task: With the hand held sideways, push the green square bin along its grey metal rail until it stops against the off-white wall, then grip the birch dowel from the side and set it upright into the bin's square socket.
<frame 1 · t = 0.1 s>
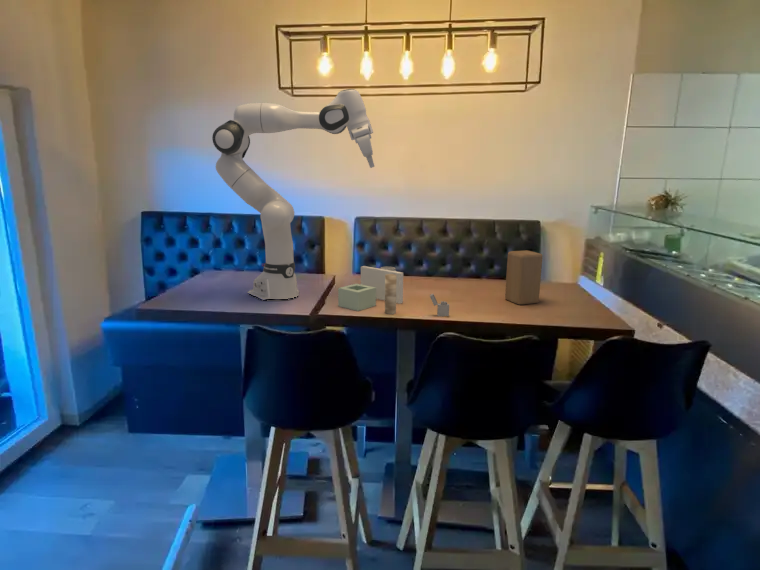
hand: (372, 167, 199), 52 cm above the table, tool tilted 20°, fingers open, 8 cm apart
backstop: (364, 306, 196), on the table
dowel: (390, 315, 185), on the table
green square bin: (357, 296, 192), point 5 cm above the table, slide at 8.0 cm
can: (387, 296, 213), on the table
lighter: (438, 316, 186), on the table
wooden block: (521, 301, 206), on the table
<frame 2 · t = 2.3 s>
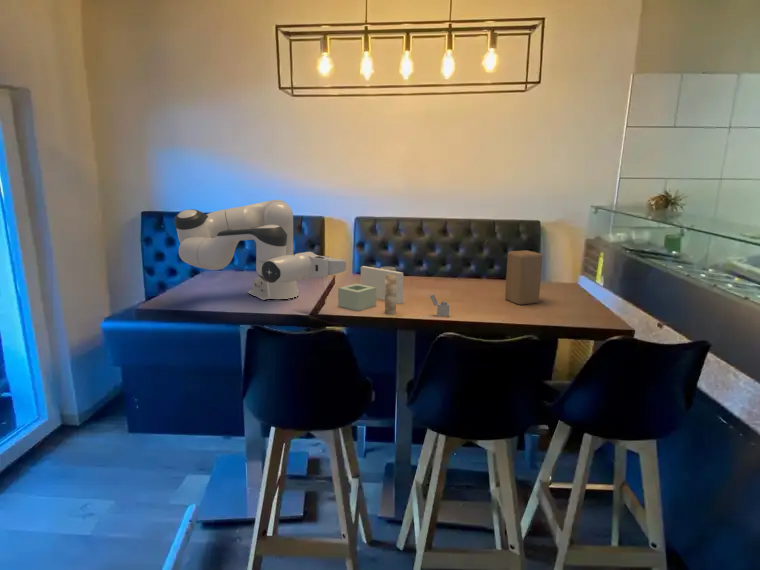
hand: (336, 259, 182), 20 cm above the table, tool horizontal, fingers open, 7 cm apart
nothing on the table moved.
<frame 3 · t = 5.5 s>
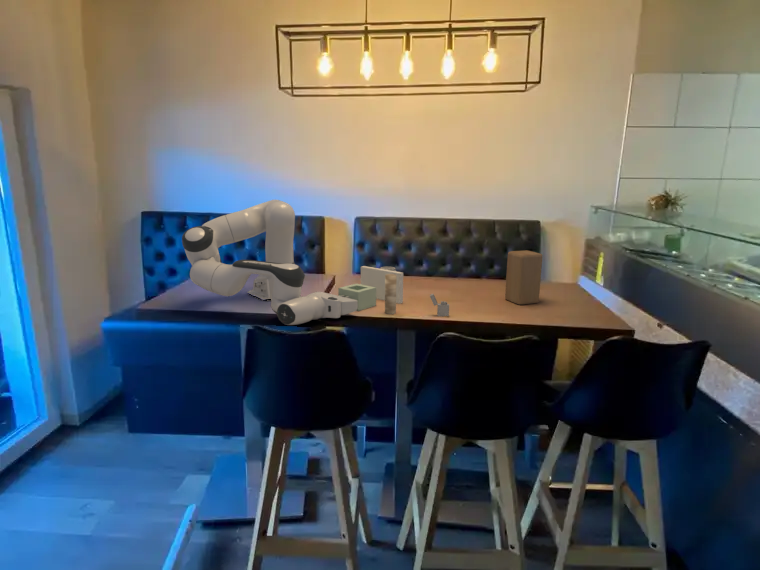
hand: (347, 297, 188), 5 cm above the table, tool horizontal, fingers closed, pressing on green square bin
green square bin: (357, 296, 192), point 5 cm above the table, slide at 7.9 cm, touching gripper
everything else where it was.
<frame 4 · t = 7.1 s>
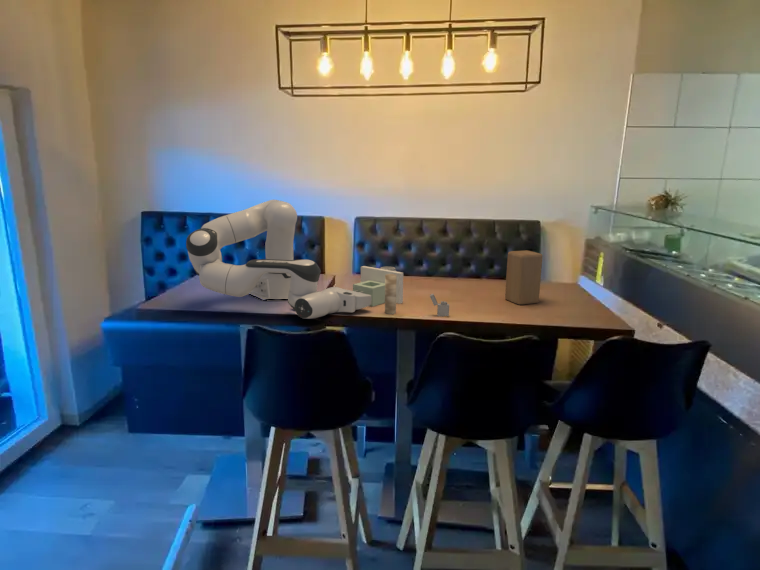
hand: (360, 293, 195), 5 cm above the table, tool horizontal, fingers closed, pressing on green square bin
green square bin: (371, 292, 198), point 5 cm above the table, slide at -0.1 cm, touching gripper
everything else where it was.
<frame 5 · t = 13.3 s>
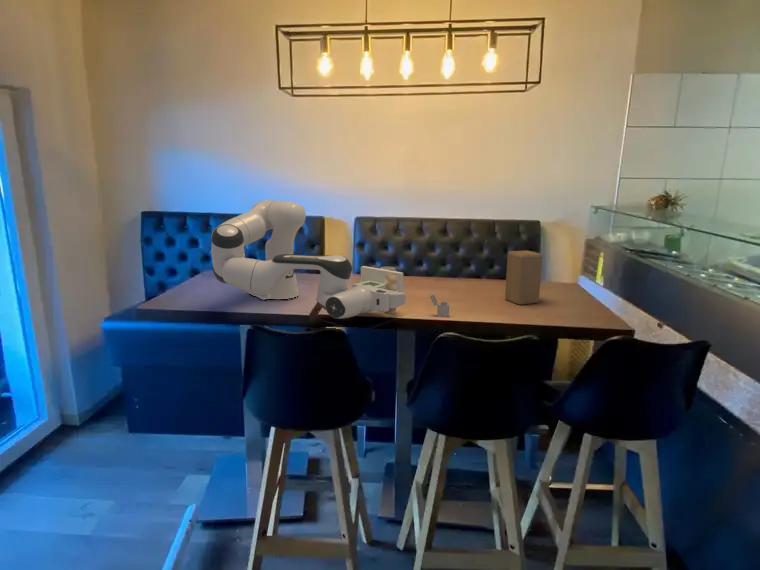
hand: (392, 291, 183), 9 cm above the table, tool horizontal, fingers closed on dowel, 4 cm apart
dowel: (390, 315, 185), on the table, touching gripper
green square bin: (371, 293, 198), point 5 cm above the table, slide at 0.0 cm
everything else where it was.
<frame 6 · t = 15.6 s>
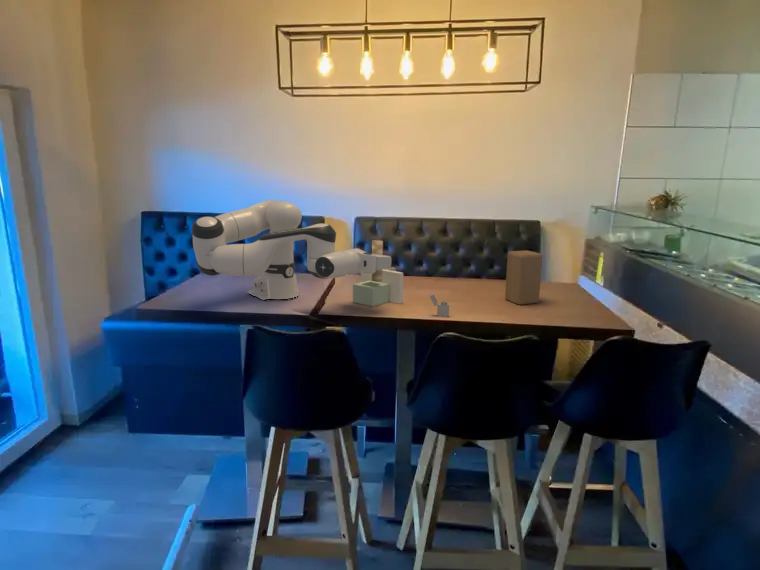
hand: (378, 256, 192), 20 cm above the table, tool horizontal, fingers closed on dowel, 4 cm apart
dowel: (377, 280, 193), point 10 cm above the table, touching gripper
everything else where it was.
when the fingers open (13 cm above the table, at t = 18.0 s): dowel drops 1 cm, resting on green square bin.
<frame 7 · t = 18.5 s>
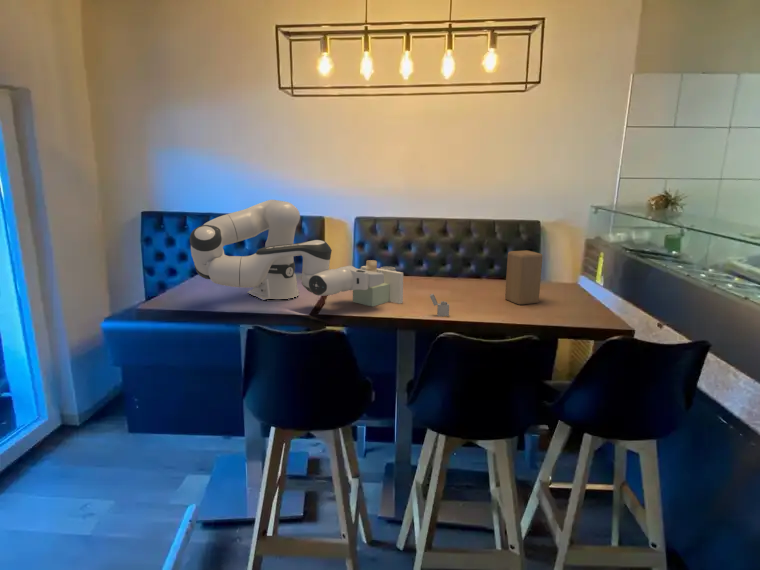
hand: (372, 272, 197), 13 cm above the table, tool horizontal, fingers open, 8 cm apart
dowel: (370, 299, 198), point 2 cm above the table, touching green square bin
green square bin: (371, 293, 198), point 5 cm above the table, slide at 0.0 cm, touching dowel
everything else where it was.
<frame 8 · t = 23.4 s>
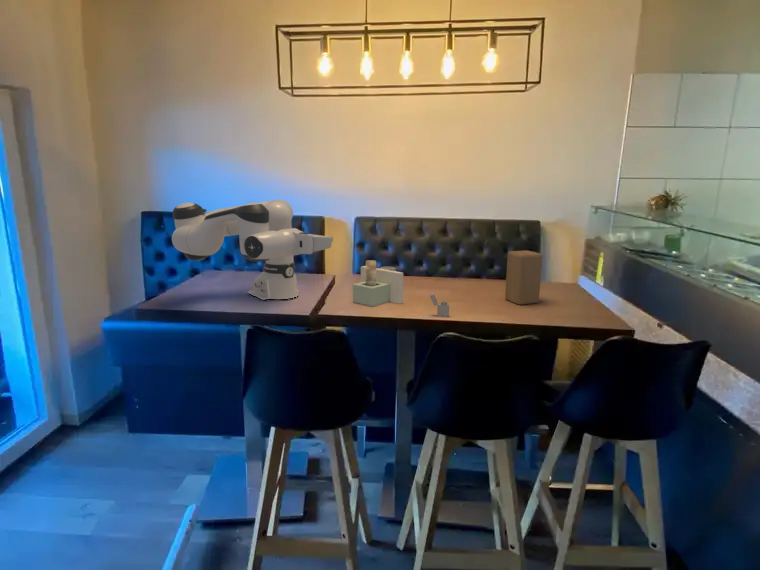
hand: (321, 237, 179), 28 cm above the table, tool horizontal, fingers open, 8 cm apart
nothing on the table moved.
at the end: green square bin slide at 0.0 cm; dowel 0.0 cm off-centre on the green square bin, point 1.0 cm above the green square bin's base; dowel tilted 1° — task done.
